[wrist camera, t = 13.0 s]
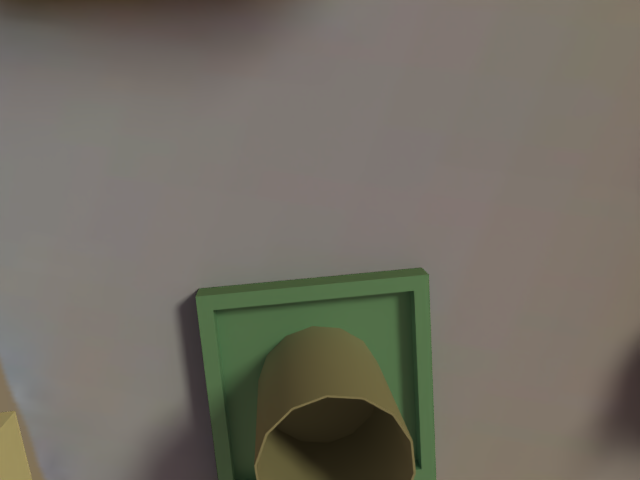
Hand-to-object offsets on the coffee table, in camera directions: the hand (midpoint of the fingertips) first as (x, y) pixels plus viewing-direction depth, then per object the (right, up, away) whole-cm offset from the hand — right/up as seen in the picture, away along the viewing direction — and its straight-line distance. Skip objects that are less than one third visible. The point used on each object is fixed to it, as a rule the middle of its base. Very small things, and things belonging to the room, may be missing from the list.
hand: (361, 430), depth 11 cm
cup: (-1, -6, +28) cm, 29 cm away
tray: (-1, -6, +29) cm, 29 cm away
